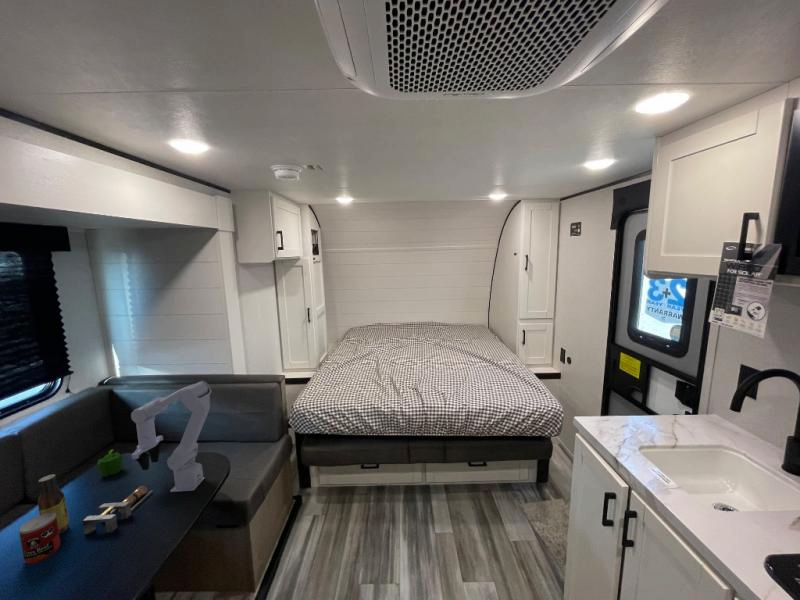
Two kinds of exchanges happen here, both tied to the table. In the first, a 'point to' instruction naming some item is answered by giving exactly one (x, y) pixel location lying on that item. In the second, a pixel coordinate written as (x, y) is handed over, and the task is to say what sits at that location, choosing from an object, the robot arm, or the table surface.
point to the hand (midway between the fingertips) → (150, 465)
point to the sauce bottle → (53, 501)
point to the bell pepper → (110, 464)
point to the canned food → (39, 538)
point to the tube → (135, 495)
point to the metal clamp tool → (110, 515)
